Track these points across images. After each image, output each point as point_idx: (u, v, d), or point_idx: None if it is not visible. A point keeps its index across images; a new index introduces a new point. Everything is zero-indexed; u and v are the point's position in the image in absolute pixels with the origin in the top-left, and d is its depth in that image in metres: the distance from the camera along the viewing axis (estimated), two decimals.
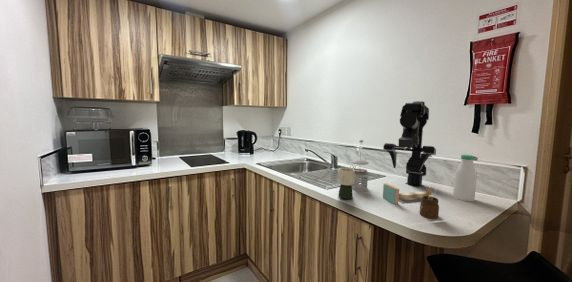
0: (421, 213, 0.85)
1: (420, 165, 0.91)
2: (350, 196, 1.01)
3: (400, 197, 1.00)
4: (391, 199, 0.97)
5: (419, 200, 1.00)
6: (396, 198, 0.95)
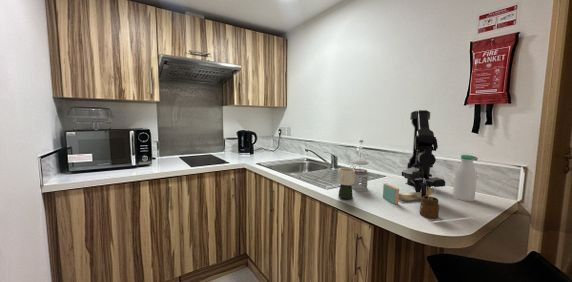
0: (421, 213, 0.85)
1: (422, 192, 1.01)
2: (350, 196, 1.01)
3: (400, 197, 1.00)
4: (391, 199, 0.97)
5: (419, 200, 1.00)
6: (396, 198, 0.95)
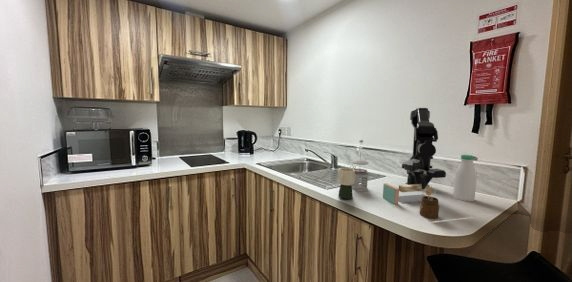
0: (421, 213, 0.85)
1: (422, 184, 1.00)
2: (350, 196, 1.01)
3: (400, 189, 1.00)
4: (391, 199, 0.97)
5: (419, 200, 1.00)
6: (396, 198, 0.95)
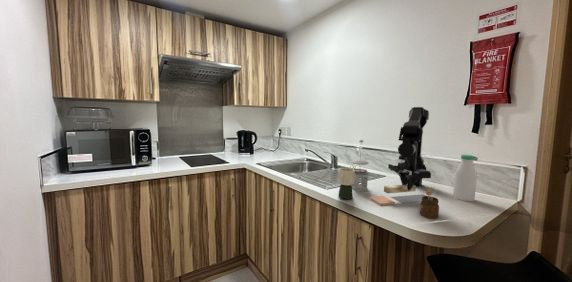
0: (421, 213, 0.85)
1: (408, 185, 0.99)
2: (350, 196, 1.01)
3: (386, 190, 0.98)
4: None
5: (419, 200, 1.00)
6: None
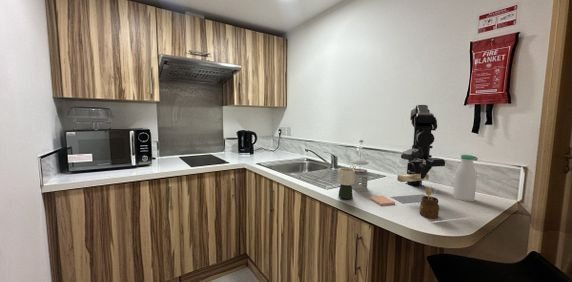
0: (421, 213, 0.85)
1: (421, 173, 1.00)
2: (350, 196, 1.01)
3: (399, 178, 0.99)
4: None
5: (419, 200, 1.00)
6: None
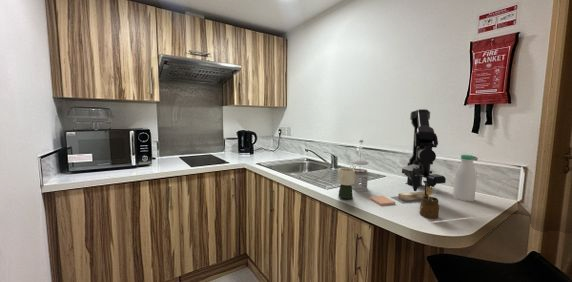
0: (421, 213, 0.85)
1: (425, 190, 0.99)
2: (350, 196, 1.01)
3: (400, 197, 1.01)
4: None
5: (419, 200, 1.00)
6: None
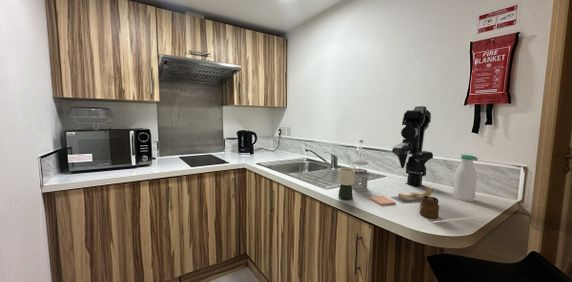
0: (421, 213, 0.85)
1: (417, 168, 1.03)
2: (350, 196, 1.01)
3: (400, 197, 1.01)
4: None
5: (419, 200, 1.00)
6: None
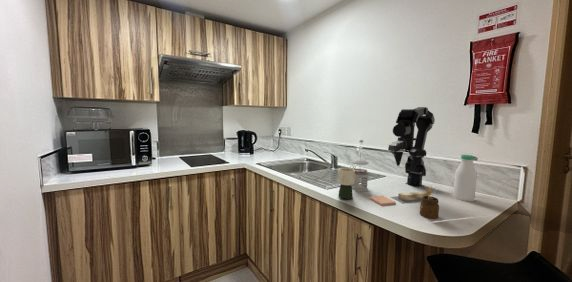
0: (421, 213, 0.85)
1: (411, 165, 1.06)
2: (350, 196, 1.01)
3: (400, 197, 1.01)
4: None
5: (419, 200, 1.00)
6: None
